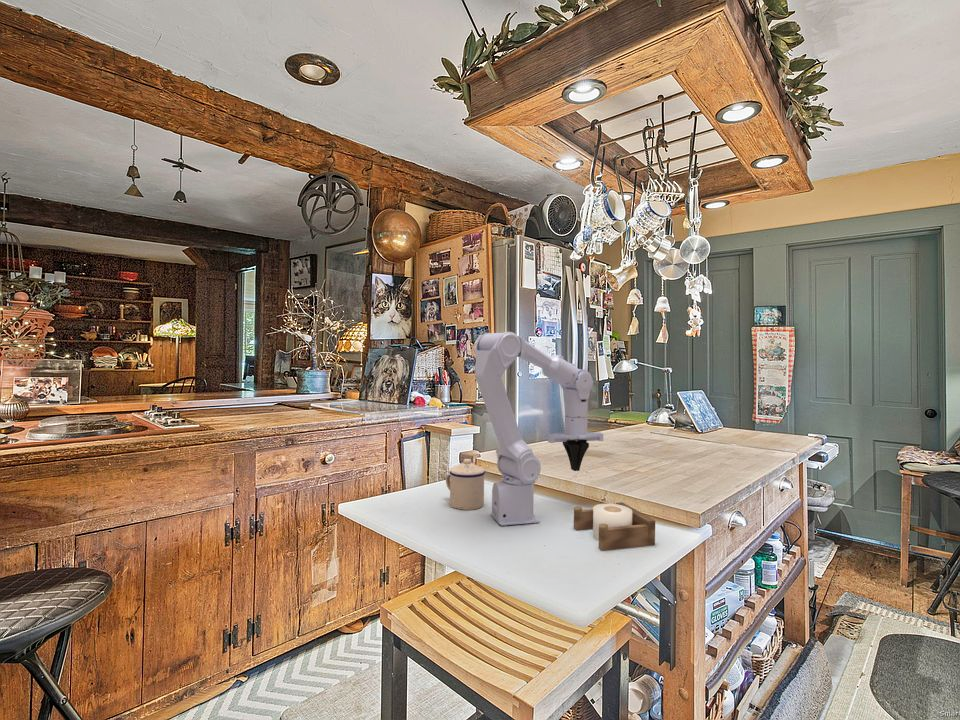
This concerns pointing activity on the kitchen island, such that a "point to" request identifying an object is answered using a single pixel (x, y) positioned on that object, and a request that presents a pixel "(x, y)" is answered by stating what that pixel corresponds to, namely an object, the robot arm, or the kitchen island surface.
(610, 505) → the roll
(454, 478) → the teacup with lid
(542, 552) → the kitchen island surface
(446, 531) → the kitchen island surface
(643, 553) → the kitchen island surface
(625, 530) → the holder
